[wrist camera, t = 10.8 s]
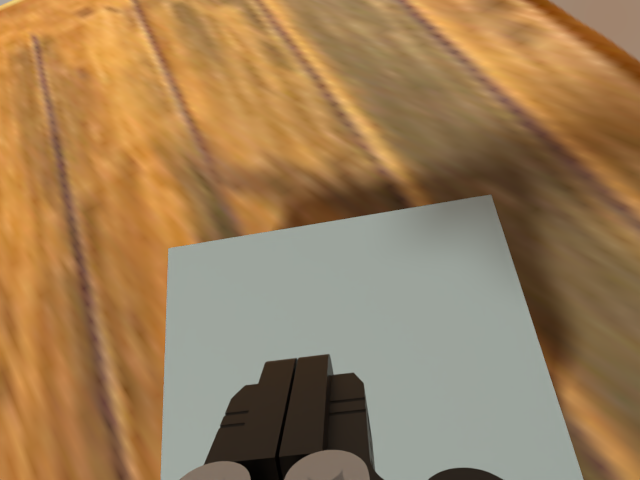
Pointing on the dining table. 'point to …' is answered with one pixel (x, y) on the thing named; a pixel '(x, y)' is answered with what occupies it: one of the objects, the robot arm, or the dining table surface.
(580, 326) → the dining table surface
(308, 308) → the lid
